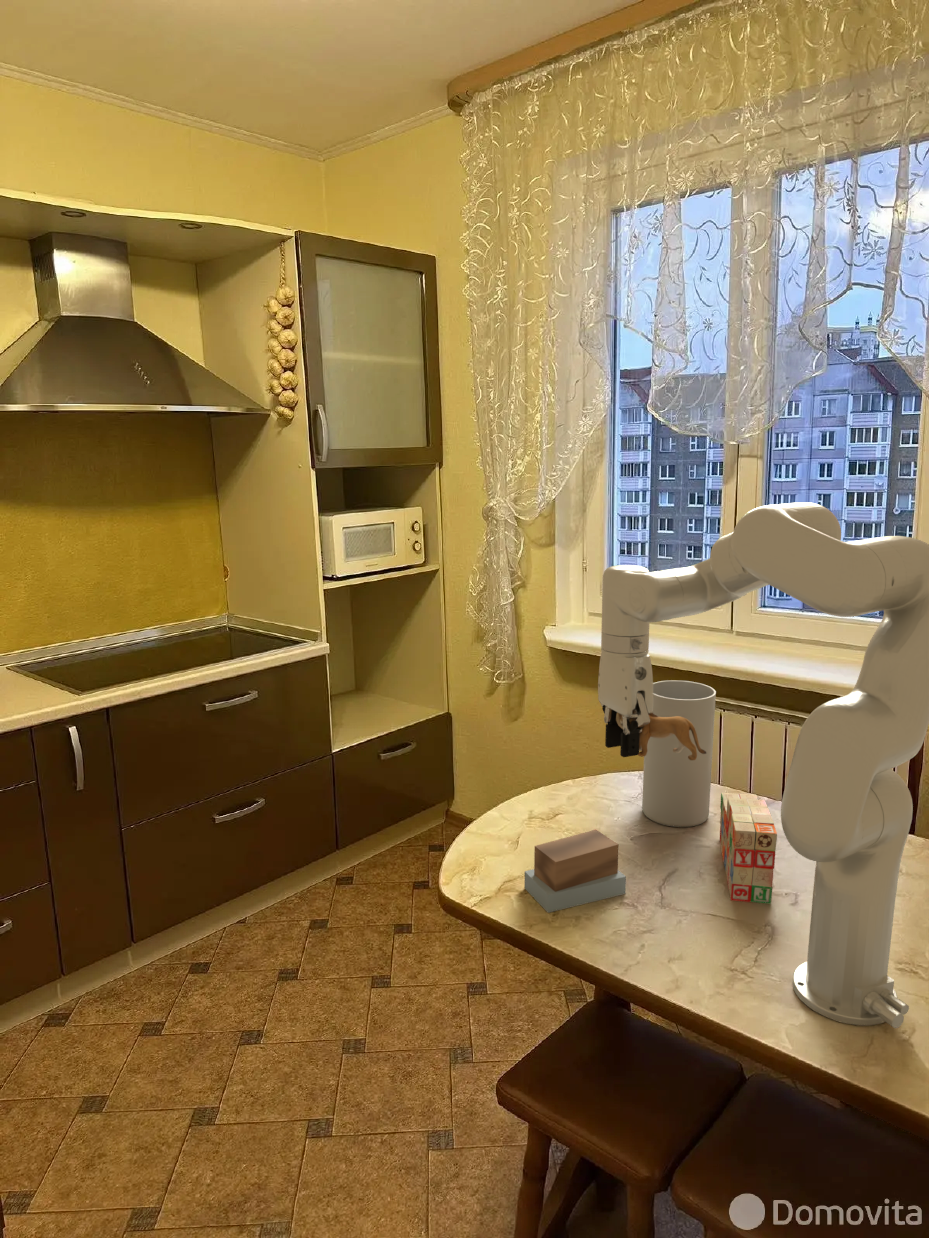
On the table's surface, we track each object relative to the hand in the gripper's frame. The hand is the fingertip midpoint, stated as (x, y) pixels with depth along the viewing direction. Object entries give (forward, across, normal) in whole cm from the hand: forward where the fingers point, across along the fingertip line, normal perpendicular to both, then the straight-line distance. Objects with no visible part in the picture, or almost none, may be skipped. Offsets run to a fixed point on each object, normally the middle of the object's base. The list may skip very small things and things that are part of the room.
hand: (621, 749), depth 143 cm
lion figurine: (+1, -2, -5) cm, 6 cm away
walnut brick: (+18, -4, +10) cm, 21 cm away
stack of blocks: (+21, -9, -19) cm, 30 cm away
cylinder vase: (+21, +14, -21) cm, 33 cm away
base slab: (+21, -4, +11) cm, 24 cm away
